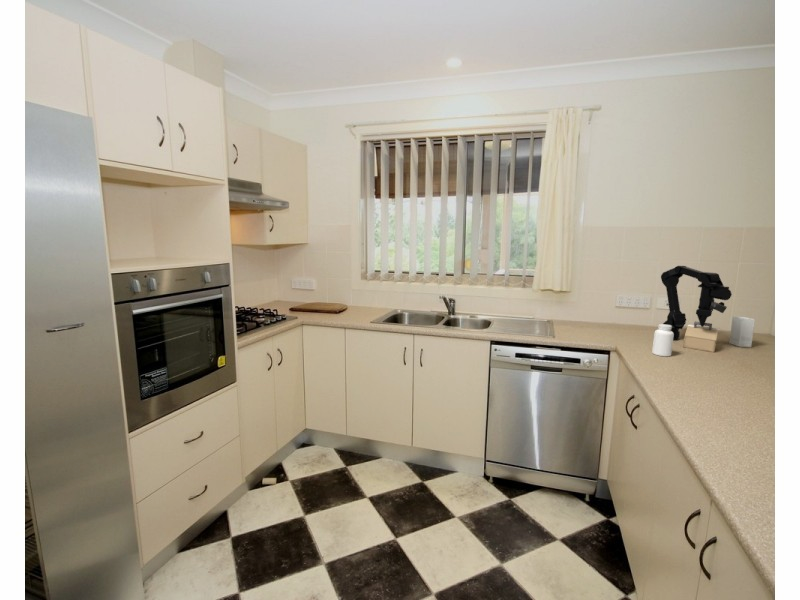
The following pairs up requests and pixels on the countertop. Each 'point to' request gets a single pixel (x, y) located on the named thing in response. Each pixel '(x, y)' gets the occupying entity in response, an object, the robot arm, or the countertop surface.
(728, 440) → the countertop surface
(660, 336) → the pill bottle
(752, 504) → the countertop surface
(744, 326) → the skincare box
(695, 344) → the wooden drawer
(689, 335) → the beige handled lid
